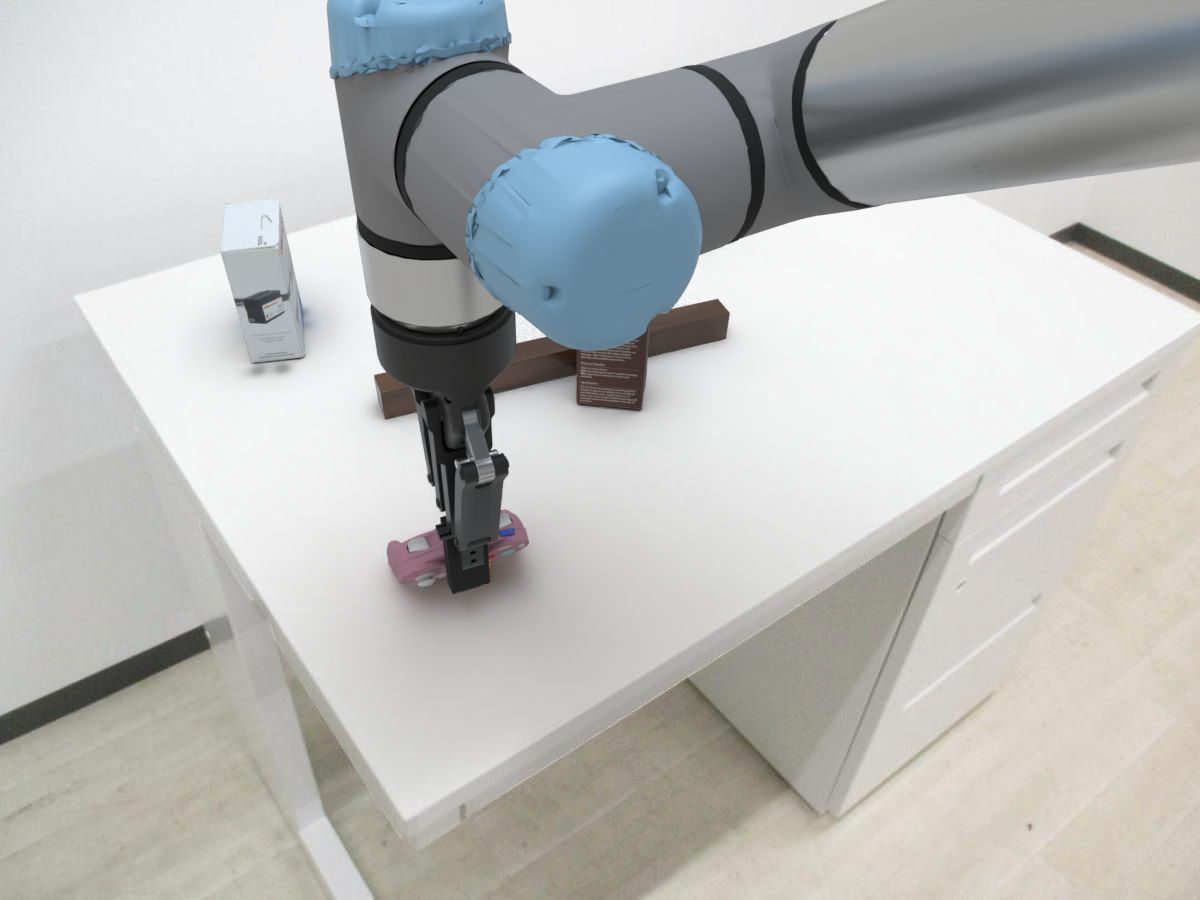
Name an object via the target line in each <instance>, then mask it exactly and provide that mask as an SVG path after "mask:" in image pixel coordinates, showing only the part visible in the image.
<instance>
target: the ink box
mask: <svg viewBox="0 0 1200 900" xmlns="http://www.w3.org/2000/svg"><path fill="white" fill-rule="evenodd" d="M223 204H224V205H223V206H224V208H223V217H222V226H221V227H222V228H221V235H220V237H221V238H220V247H219V248H220V250H219V253H220V256H221V261H222V262H223V267H224V270H225V273H226V277H227V280H228V283H229V287H230V290H231V294H232V297H233V301H234V305H235V308H236V311H237V315H238V318H239V322H240V326H241V330H242V333H243V336H244V340H245V344H246V346H247V350H248V355H249V358H250V363H265V362H272V361H273V362H274V361H282V360H291V359H292V360H293V359H301V358H303V357H305V354H306V353H305V336H304V333H305V332H304V315H303V314H304V313H303V303H302V299H301V296H300V290H299V286H298V282H297V281H298V280H297V276H296V272H295V268H294V263H293V259H292V253H291V250H290V244H289V239H288V236H287V231H286V226H285V222H284V216H283V214H282V213H283V212H282V207H281V201H280V200H279V198H269V199H261V200H259V199H258V200H249V201H238V202H228V203H223Z"/></svg>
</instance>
